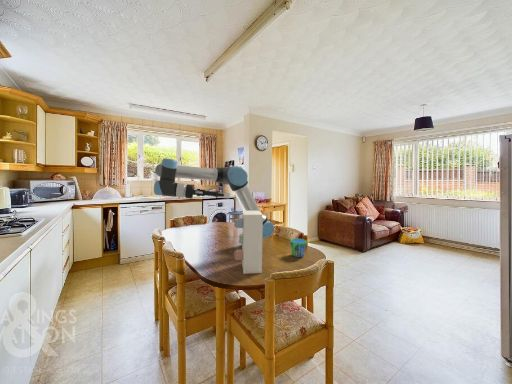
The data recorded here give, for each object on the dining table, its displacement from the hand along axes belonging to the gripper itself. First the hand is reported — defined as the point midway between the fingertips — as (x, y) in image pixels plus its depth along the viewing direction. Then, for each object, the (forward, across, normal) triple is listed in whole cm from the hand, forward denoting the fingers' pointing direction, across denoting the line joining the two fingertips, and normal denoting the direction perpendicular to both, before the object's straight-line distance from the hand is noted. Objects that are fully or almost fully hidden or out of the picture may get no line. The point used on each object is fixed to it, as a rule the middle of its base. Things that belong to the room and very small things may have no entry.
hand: (229, 195), depth 125 cm
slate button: (+7, 0, -17) cm, 18 cm away
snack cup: (+51, -15, -34) cm, 64 cm away
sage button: (+11, 0, -25) cm, 28 cm away
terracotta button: (+9, -1, -35) cm, 36 cm away
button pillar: (+17, -1, -39) cm, 43 cm away
